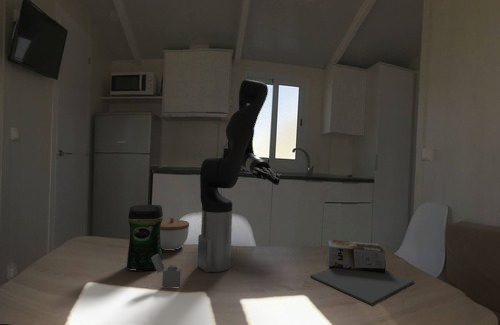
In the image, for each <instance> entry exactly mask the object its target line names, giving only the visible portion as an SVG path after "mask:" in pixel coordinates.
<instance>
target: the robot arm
mask: <svg viewBox="0 0 500 325" xmlns="http://www.w3.org/2000/svg"><path fill="white" fill-rule="evenodd" d="M268 93H269V87H268V85H267V84H266V83H264V82H262V81H258V80H252V79H248V78H247V79H243V80H242V81H241V83H240V86H239V90H238V110H237V111H235V112H234V113H233V114H232V115H231V117H230V119H229V121H228V123H227V125H226V129H225V136H226V138H227V141H228V144H229V146H230V152H229V155H228V156H227V157H207V158H204V160H203V161H202V164H201V165H200V173H199V183H200V184H199V185H200V186H199V187H200V188H199V189H200V194H199V195H200V203H201V233H200V234H198V236H197V237H198V240H197V242H198V243H197V267H198V266H199V267H198V268H199V269H200V270H202V271H204V272H205V273H219V272H224V271H227V270H229V269H230V268H231V260H232V257H231V256H232V232H233V231H232V228H233V225H232V224H233V202H232V200H230V199H229V198H226V197H225V196H223V194H221V193H220V192H219V189H232V188H234V187H235V185H236V184H237V182H238V181H239V177H240V173H241V169H242V167H244V168H245V169H247V171H248V172H249V173H251V174H252V175H253V176H254V177H255V178H256V179H262V180H267V181H268V182H271V183H272V184H273V185H276V186H278V185H279V184H280V182H281V180H280V177H281V173H280V172H276V173H275V172H274V171H273V170H272V169H271V167H270V164H269V163H268V162H267V161H265V160H264V159H263V158H261V157H259V156H257V155H256V154H254V153H255V151H254V145H253V142H254V135H255V127H256V124H257V121H258V117H259V115H260V112H261V110H262V108H263V106H264V104H265V102H266V100H267V97H268Z"/></svg>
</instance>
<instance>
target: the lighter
mask: <svg viewBox="0 0 500 325" xmlns="http://www.w3.org/2000/svg"><path fill="white" fill-rule="evenodd" d="M151 259H152V261H153V264H154V266H155V268H156V269H155V270H156V272H157V274H158V273H161V272H162V282H161V284H162V285H161V286H163V287H179V286H180V287H181V271H182V269H181V268H178V266H177V265H175V264H169V265H167V268H165V265H164V263H163V260H162V261H161V259H160V257H159V254H156V255H154V256H153V257H152V258H151ZM180 287H179V288H180Z"/></svg>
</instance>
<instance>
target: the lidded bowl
mask: <svg viewBox="0 0 500 325" xmlns="http://www.w3.org/2000/svg"><path fill="white" fill-rule="evenodd" d="M189 228H190V222H189V221H187V220H184V219H183V220H182V219H174V217H170V219H165V220H164V219H163V220H162V222H161V225H160V240H161V248H163V249H176V248H179V247H181V248H182V246H183V245H184V244H185V243H186V241H187V239H188V236H189V230H190V229H189Z"/></svg>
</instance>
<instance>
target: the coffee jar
mask: <svg viewBox="0 0 500 325" xmlns="http://www.w3.org/2000/svg"><path fill="white" fill-rule="evenodd" d="M163 213H164V212H163V207H162V205H161V204H134V205H132V206H130V208H129V212H128V215H127V216H128V217H127V222H128V225H129V243H128V250H127V251H128V252H127V258H126V268H129V269H136V270H145V271H152V270H151V269H154V270H156V268H155V266H154V264H153V261H152V259H151V258H152V257H153V256H154V255H156V254H159V257H160V259H161V261H162V262H163V254H162V252H163V250H162V249H161V240H160V225H161V222H162V221H164V214H163ZM129 269H128V270H129Z"/></svg>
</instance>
